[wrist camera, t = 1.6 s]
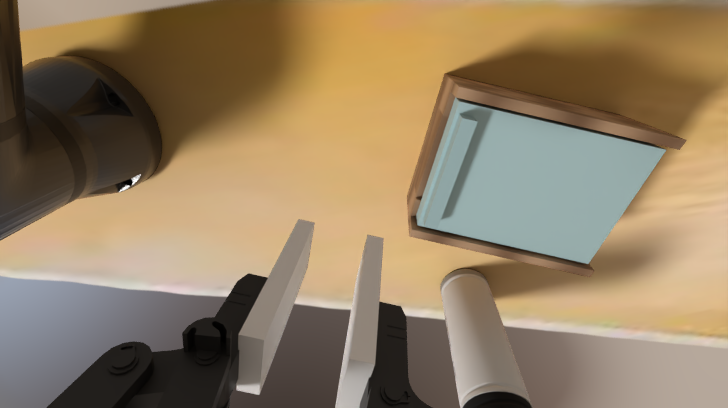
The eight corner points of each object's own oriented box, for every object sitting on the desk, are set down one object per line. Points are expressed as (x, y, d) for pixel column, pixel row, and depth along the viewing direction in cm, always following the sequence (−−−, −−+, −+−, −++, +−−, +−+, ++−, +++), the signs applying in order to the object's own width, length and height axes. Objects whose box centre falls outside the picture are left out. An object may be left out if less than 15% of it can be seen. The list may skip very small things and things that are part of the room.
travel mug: (499, 279, 43) (568, 448, 26) (468, 309, 46) (512, 480, 29) (460, 258, 42) (504, 420, 25) (431, 291, 45) (452, 456, 28)
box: (407, 196, 39) (409, 236, 31) (444, 73, 32) (459, 86, 25) (553, 230, 39) (589, 277, 32) (620, 114, 33) (686, 140, 25)
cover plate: (416, 214, 33) (418, 233, 30) (455, 97, 28) (462, 105, 25) (578, 251, 33) (596, 274, 30) (649, 142, 28) (680, 156, 25)
